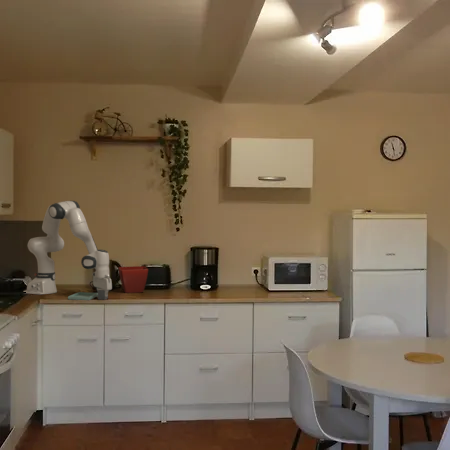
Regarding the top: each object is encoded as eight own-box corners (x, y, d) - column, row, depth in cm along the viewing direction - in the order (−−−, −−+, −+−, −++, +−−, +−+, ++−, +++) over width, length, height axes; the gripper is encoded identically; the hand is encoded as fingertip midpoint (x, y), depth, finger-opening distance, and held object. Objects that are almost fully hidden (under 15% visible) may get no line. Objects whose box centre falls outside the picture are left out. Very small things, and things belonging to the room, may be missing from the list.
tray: (68, 299, 367) (67, 296, 367) (78, 295, 384) (78, 292, 384) (89, 300, 365) (89, 297, 365) (99, 295, 381) (99, 293, 381)
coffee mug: (109, 292, 395) (109, 278, 395) (105, 294, 386) (105, 280, 386) (93, 292, 396) (93, 277, 396) (89, 294, 388) (89, 279, 387)
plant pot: (118, 289, 407) (118, 266, 406) (144, 288, 413) (144, 265, 412) (120, 294, 389) (120, 270, 388) (148, 293, 394) (148, 269, 393)
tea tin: (97, 299, 368) (97, 288, 368) (100, 298, 374) (100, 287, 373) (105, 299, 368) (105, 289, 367) (108, 298, 373) (108, 287, 372)
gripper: (114, 275, 364) (114, 296, 365) (99, 272, 380) (100, 292, 381) (105, 276, 360) (105, 298, 361) (91, 273, 376) (91, 293, 377)
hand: (102, 295), depth 371 cm, fingers open, 8 cm apart
